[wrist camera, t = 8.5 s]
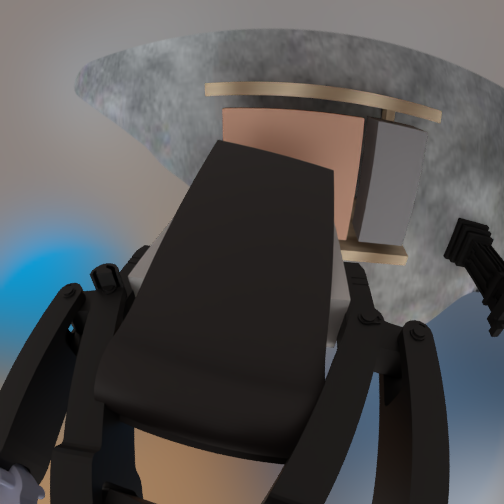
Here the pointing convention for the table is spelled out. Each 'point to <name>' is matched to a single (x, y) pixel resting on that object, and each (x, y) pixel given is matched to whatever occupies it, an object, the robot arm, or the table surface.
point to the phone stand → (231, 311)
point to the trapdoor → (345, 162)
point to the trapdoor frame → (389, 105)
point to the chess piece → (480, 267)
